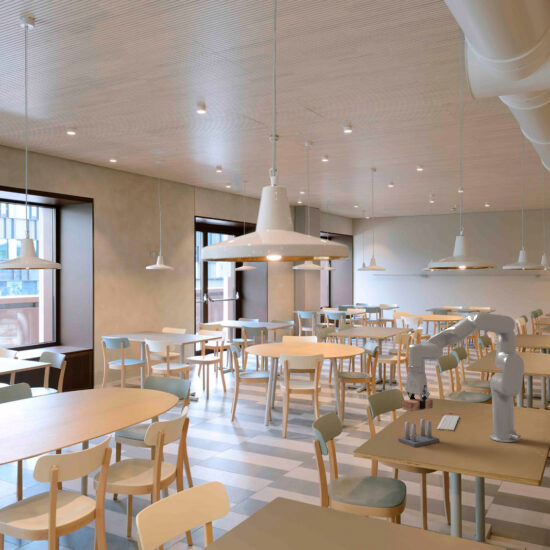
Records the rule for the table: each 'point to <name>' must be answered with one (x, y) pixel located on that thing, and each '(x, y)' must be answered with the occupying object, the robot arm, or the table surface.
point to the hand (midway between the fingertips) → (417, 407)
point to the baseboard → (448, 423)
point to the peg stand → (418, 435)
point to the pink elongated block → (416, 404)
